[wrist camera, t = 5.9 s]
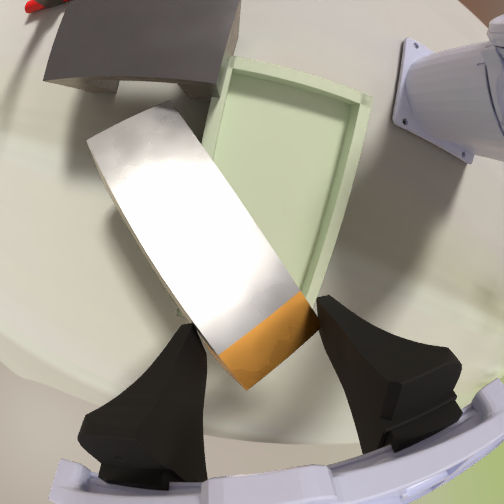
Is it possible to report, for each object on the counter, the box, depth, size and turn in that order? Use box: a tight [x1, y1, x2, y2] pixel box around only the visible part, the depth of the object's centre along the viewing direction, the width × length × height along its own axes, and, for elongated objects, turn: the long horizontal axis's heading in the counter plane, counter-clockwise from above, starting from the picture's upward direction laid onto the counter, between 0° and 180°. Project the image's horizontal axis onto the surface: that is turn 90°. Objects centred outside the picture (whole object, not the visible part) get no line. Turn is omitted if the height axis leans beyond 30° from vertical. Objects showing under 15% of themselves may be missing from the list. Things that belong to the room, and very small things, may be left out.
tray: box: [177, 56, 373, 317], centre depth 18 cm, size 10×18×2 cm, turn 168°
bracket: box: [43, 0, 241, 101], centre depth 12 cm, size 9×5×6 cm, turn 78°
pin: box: [86, 100, 321, 391], centre depth 13 cm, size 4×13×4 cm
